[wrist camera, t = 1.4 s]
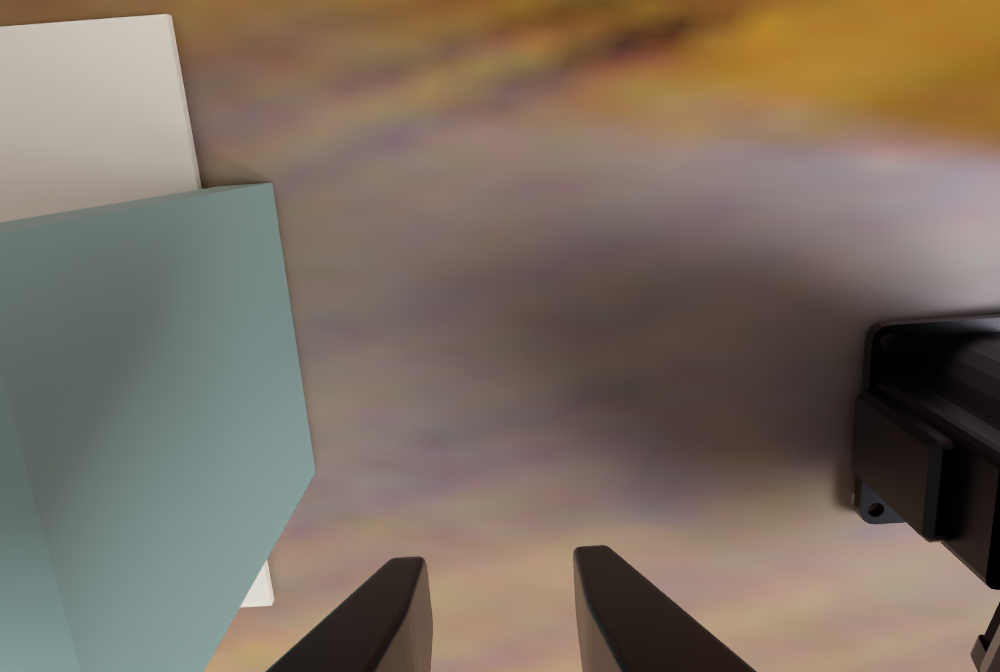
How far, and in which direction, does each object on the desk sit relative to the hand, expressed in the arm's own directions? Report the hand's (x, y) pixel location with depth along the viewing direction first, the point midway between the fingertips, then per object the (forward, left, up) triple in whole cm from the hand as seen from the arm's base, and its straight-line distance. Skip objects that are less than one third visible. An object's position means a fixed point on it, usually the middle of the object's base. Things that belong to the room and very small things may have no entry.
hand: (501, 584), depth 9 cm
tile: (+7, 0, -13) cm, 15 cm away
